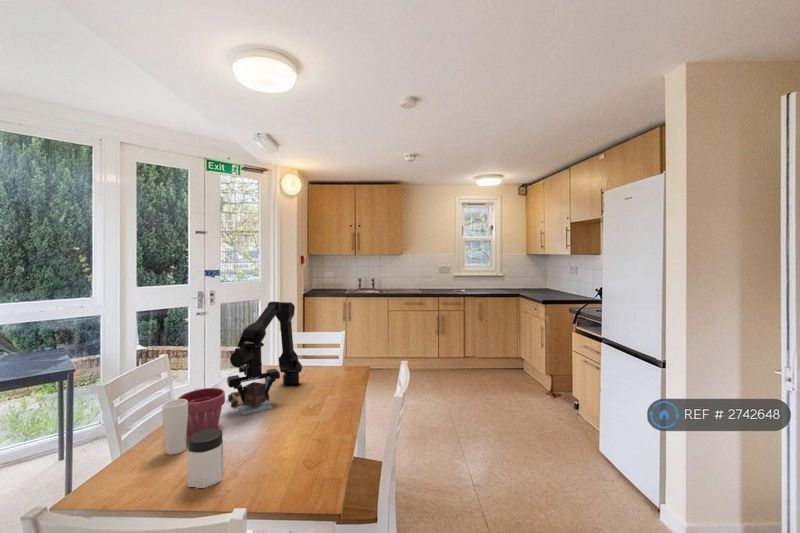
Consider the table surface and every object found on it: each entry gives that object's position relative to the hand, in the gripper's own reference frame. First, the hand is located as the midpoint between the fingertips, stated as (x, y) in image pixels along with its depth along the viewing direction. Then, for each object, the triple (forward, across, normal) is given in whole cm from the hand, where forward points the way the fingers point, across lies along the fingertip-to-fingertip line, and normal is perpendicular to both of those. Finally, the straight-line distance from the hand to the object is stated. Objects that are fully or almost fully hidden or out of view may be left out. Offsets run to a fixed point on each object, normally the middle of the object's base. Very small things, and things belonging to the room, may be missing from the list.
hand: (254, 399), depth 143 cm
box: (+2, 0, 0) cm, 2 cm away
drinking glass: (+4, +27, +20) cm, 34 cm away
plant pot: (+4, +19, +10) cm, 22 cm away
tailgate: (+4, 0, 0) cm, 4 cm away
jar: (+4, +21, +42) cm, 47 cm away
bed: (+4, 0, -11) cm, 11 cm away
